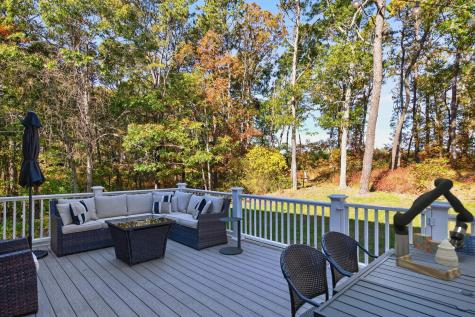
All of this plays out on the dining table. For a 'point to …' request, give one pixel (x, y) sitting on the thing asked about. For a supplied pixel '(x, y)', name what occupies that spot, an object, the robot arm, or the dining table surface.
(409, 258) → the oak bay
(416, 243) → the stack of blocks
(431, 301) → the dining table surface
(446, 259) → the honey pot
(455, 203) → the robot arm
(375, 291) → the dining table surface
